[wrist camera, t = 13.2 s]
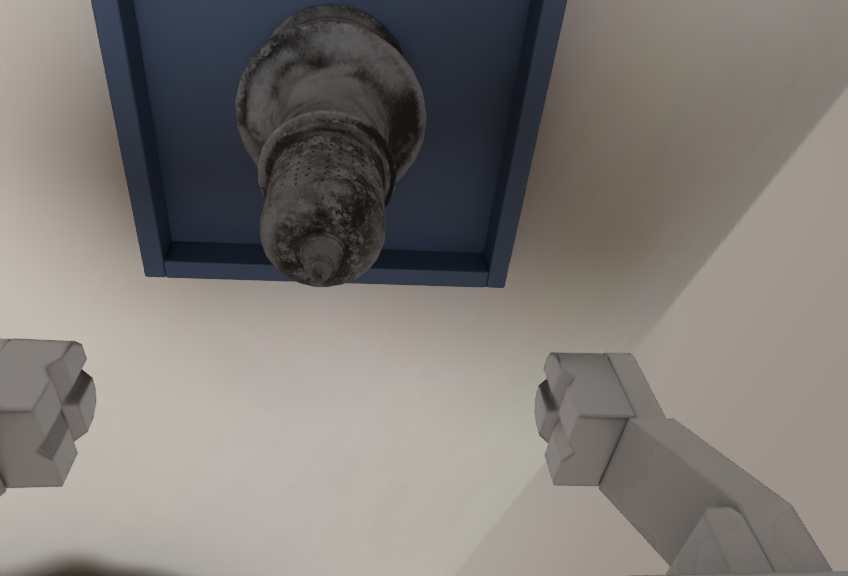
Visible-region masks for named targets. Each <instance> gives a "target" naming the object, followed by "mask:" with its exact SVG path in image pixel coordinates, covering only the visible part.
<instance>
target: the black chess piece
mask: <svg viewBox="0 0 848 576" xmlns="http://www.w3.org/2000/svg"><path fill="white" fill-rule="evenodd" d="M235 104H236V120H237V127H238V130H239V133H240V136H241V139H242V142H243V145H244V148H245V150H246V151H247V153H248V154H249V156H250V157H251V159H252V160H253V162H254V163H255V165H256V166H257V168H258V182H259V185H260V188H261V191H262V194H263V197H264V198H265V202H264V206H263V211H262V215H261V219H260V238H261V243H262V246H263V249H264V251H265V254H266V256H267V258H268V259H269V260H270V262H271V263H272V265H273V266H274V267H275V268H276V269H277V270H279V271H280V272H281V273H282V274H283V275H285V276H286V277H288V278H290V279H292V280H294V281H296V282H298V283H301V284H306V285H310V286H315V287H329V286H335V285H340V284H344V283H347V282H349V281H352V280H354V279H356V278H358V277H359V276H361V275H362V274H364V273H365V272H366V271H368V270H369V269H370V267H371V266H372V265H373V264H374V263H375V261H376V260H377V258H378V256H379V254H380V251H381V249H382V247H383V244H384V241H385V232H386V220H385V208H386V206H387V205H388V204H389V202H390V199H391V197H392V195H393V192H394V190H395V184H396V182H397V181H398V180H400V179H401V178H402V177H403V176H404V174H405V173H406V172H407V170H408V169H409V168H410V167H411V165H412V164H413V163H414V161H415V160H416V157H417V155H418V152H419V150H420V148H421V145H422V143H423V140H424V134H425V125H426V117H427V116H426V110H425V103H424V96H423V91H422V89H421V87H420V84H419V82H418V80H417V78H416V75H415V73H414V71H413V69H412V68H411V66H410V65H409V64H408V63H407V61H406V59H405V56H404V54H403V52H402V49H401V47H400V45H399V43H398V41H397V40H396V39H395V38H394V36H393V35H392V34H391V33H390V31H389V30H388V29H387V28H386V26H385V25H383V24H382V23H380V22H379V21H378V20H376V19H375V18H374V17H372V16H371V15H370V14H368V13H366V12H363V11H361V10H358V9H356V8H353V7H350V6H345V5H336V4H323V5H318V6H312V7H307V8H305V9H303V10H301V11H299V12H297V13H295V14H293V15H291V16H289V17H288V18H287V19H286V20H285V21H284V22H283V23H282V24H281V25H280V26H279V27H277V28H276V29H275V30H274V32H273V34H272V36H271V37H270V39H269V40H268V41H267V42H266V43H265V44H264V45H263V46H262V47H261V48H260V49H259V50H258V51H257V52H256V53H254V55H253V56H252V58H251V60H250V62H249V63H248V65H247V67H246V69H245V70H244V72H243V74H242V76H241V78H240V83H239V87H238V92H237V96H236V100H235Z"/></svg>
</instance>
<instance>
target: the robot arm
mask: <svg viewBox="0 0 848 576" xmlns="http://www.w3.org/2000/svg"><path fill="white" fill-rule="evenodd" d="M86 359H87V358H86V355H85V352H84V349H83V346H82V344H80V343H78V342H76V341H57V340H35V339H0V496H1V495H2V494H3V493H5V492H6V488H25V487H60V486H63V484H64V482H65V480H66V477H67V475H68V473H69V471H70V469H71V467H72V464H73V462H74V460H75V458H76V456H77V454H78V453H77V450H76V447H75V444H74V441H75V440H77V439H78V438H80V437H81V436H82V435H84V434H85V433H86V432H88V429H89V427H90V425H91V422H92V420H93V417H94V411H95V406H96V389H95V385H94V381H93V378H92V377H91V376H89V375H88V374H87V373H86V372H84V371H83V370H82V367H83V365H84V363H85V361H86ZM544 370H545V374H546V377H547V379H546V380H545V381H544V382H542V383H541V384H540V385H539V386H538V390H537V394H536V398H535V419H536V425H537V429H538V433H539V435H540V436H541V437H542V438H543V439H544V440H545V441H546V442H547V443H548V446H547V449H546V452H545V457H546V461H547V464H548V468H549V471H550V474H551V478H552V481H553V485H569V486H599V489H600V490H601V492H602V493H603V494H604V495H605V496H606V497H607V498H608V499H609V500H610V501H611V502H612V504H613V505H614V506H615V507H616V508H617V509H618V510H619V511H620V512H621V513H622V514H623V515H624V517H625V518H626V519H627V520H628V521H629V522H630V523H631V524H632V525H633V526H634V527H635V528H636V530H637V531H638V532H639V533H640V534H641V535H642V536H643V537H644V538H645V539H646V540H647V542H648V543H649V544H650V545H651V546H652V547H653V548H654V549H655V550H656V551H657V552H658V553H659V555H660V556H661V557H662V558H663V559H664V560H665V561H666V562H667V563H668V564H669V565H670V568H669V570H668V571H667V573H666V574H665V575H633V576H848V571H833V570H832V569H831V567H830V565H829V564H828V562H827V561H826V559H825V557H824V556H823V554H822V553H821V551H820V550H819V548H818V546H817V545H816V543H815V541H814V540H813V538H812V537H811V535H810V533H809V532H808V530H807V528H806V527H805V525H804V524H803V522H802V521H801V519H800V517H799V516H798V514H797V513H796V511H795V509H794V508H793V506H792V505H791V504H790V503H788V502H787V501H786V500H784V499H783V498H781V497H780V496H779V495H777V494H776V493H774V492H773V491H772V490H771V489H769V488H768V487H766V486H765V485H764V484H762V483H761V482H759V481H758V480H757V479H755V478H754V477H753V476H751V475H750V474H749V473H747V472H746V471H744V470H743V469H742V468H740V467H739V466H738V465H736V464H735V463H734V462H732V461H731V460H730V459H728V458H727V457H725V456H724V455H723V454H721V453H720V452H719V451H717V450H716V449H714V448H713V447H712V446H710V445H709V444H708V443H706V442H705V441H704V440H702V439H701V438H700V437H698V436H697V435H695V434H694V433H693V432H691V431H690V430H689V429H687V428H686V427H685V426H683V425H682V424H680V423H679V422H678V421H676V420H675V419H667V418H666V417H665V415H664V413H663V411H662V409H661V408H660V406H659V404H658V402H657V400H656V398H655V396H654V394H653V392H652V390H651V388H650V386H649V384H648V382H647V380H646V378H645V377H644V375H643V373H642V371H641V369H640V367H639V365H638V363H637V361H636V359H635V357H634V356H633V355H631V354H630V353H603V354H601V353H555V352H551V353H550V354H549V356H548V357H547V359H546V363H545V366H544Z"/></svg>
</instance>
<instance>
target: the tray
mask: <svg viewBox="0 0 848 576" xmlns="http://www.w3.org/2000/svg"><path fill="white" fill-rule="evenodd" d="M91 3H92V8H93V13H94V18H95V23H96V28H97V33H98V38H99V43H100V48H101V53H102V58H103V63H104V68H105V74H106V79H107V84H108V89H109V94H110V99H111V104H112V109H113V114H114V119H115V124H116V129H117V134H118V139H119V145H120V150H121V155H122V160H123V165H124V170H125V175H126V180H127V185H128V190H129V195H130V200H131V205H132V211H133V216H134V221H135V226H136V231H137V236H138V241H139V246H140V251H141V256H142V261H143V266H144V271H145V276H147V277H168V278H199V279H232V280H264V281H294V280H292V279H290V278H288V277H286V276H285V275H283V274H282V273H281V272H280V271H279V270H277V269H276V268H275V267H274V266H273V265H272V263H271V262H270V260H269V259H268V258H267V256H266V254H265V251H264V249H263V246H262V243H261V238H260V219H261V215H262V211H263V206H264V202H265V198H264V197H263V194H262V191H261V188H260V185H259V182H258V168H257V166H256V165H255V163H254V162H253V160H252V159H251V157H250V156H249V154H248V153H247V151H246V150H245V148H244V145H243V142H242V139H241V136H240V133H239V130H238V127H237V120H236V104H235V100H236V96H237V92H238V87H239V83H240V78H241V76H242V74H243V72H244V70H245V69H246V67H247V65H248V63H249V62H250V60H251V58H252V56H253V55H254V53H256V52H257V51H258V50H259V49H260V48H261V47H262V46H263V45H264V44H265V43H266V42H267V41H268V40H269V39H270V37H271V36H272V34H273V32H274V30H275V29H276V28H277V27H279V26H280V25H281V24H282V23H283V22H284V21H285V20H286V19H287V18H288V17H289V16H291V15H293V14H295V13H297V12H299V11H301V10H303V9H305V8H307V7H312V6H318V5H323V4H336V5H345V6H350V7H353V8H356V9H358V10H361V11H363V12H366V13H368V14H370V15H371V16H372V17H374V18H375V19H376V20H378V21H379V22H380V23H382V24H383V25H385V26H386V28H387V29H388V30H389V31H390V33H391V34H392V35H393V36H394V38H395V39H396V40H397V41H398V43H399V45H400V47H401V49H402V52H403V54H404V56H405V59H406V61H407V63H408V64H409V65H410V66H411V68H412V69H413V71H414V73H415V75H416V78H417V80H418V82H419V84H420V87H421V89H422V91H423V96H424V103H425V110H426V116H427V117H426V125H425V134H424V140H423V143H422V145H421V148H420V150H419V152H418V155H417V157H416V160H415V161H414V163H413V164H412V165H411V167H410V168H409V169H408V170H407V172H406V173H405V174H404V176H403V177H402V178H401V179H400V180H398V181H397V182H396V184H395V190H394V192H393V195H392V197H391V199H390V202H389V204H388V205H387V206H386V208H385V220H386V232H385V241H384V244H383V247H382V249H381V251H380V254H379V256H378V258H377V260H376V261H375V263H374V264H373V265H372V266H371V267H370V269H369V270H368V271H366V272H365V273H364V274H362V275H361V276H359V277H358V278H356V279H354V280H352V281H349V282H347V283H361V284H393V285H426V286H458V287H494V288H504V286H505V281H506V277H507V272H508V268H509V263H510V259H511V254H512V249H513V245H514V240H515V236H516V231H517V227H518V222H519V218H520V213H521V208H522V204H523V199H524V195H525V190H526V186H527V181H528V176H529V172H530V167H531V163H532V158H533V154H534V149H535V145H536V140H537V135H538V131H539V126H540V122H541V117H542V113H543V108H544V104H545V99H546V94H547V90H548V85H549V81H550V76H551V72H552V67H553V62H554V58H555V53H556V49H557V44H558V40H559V35H560V31H561V26H562V21H563V17H564V12H565V8H566V3H567V0H91Z"/></svg>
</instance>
